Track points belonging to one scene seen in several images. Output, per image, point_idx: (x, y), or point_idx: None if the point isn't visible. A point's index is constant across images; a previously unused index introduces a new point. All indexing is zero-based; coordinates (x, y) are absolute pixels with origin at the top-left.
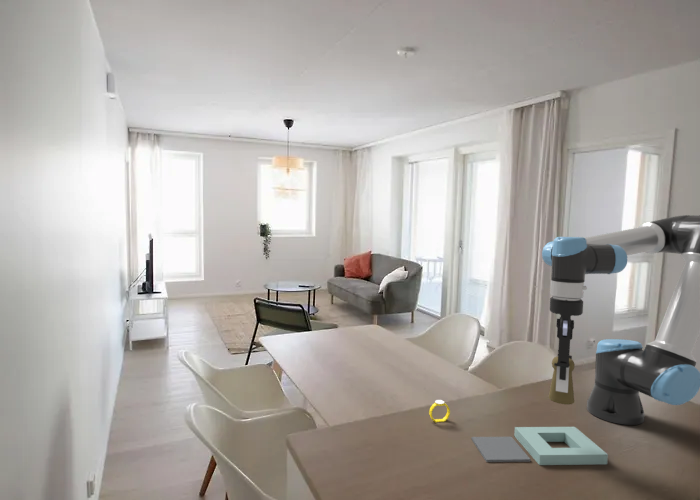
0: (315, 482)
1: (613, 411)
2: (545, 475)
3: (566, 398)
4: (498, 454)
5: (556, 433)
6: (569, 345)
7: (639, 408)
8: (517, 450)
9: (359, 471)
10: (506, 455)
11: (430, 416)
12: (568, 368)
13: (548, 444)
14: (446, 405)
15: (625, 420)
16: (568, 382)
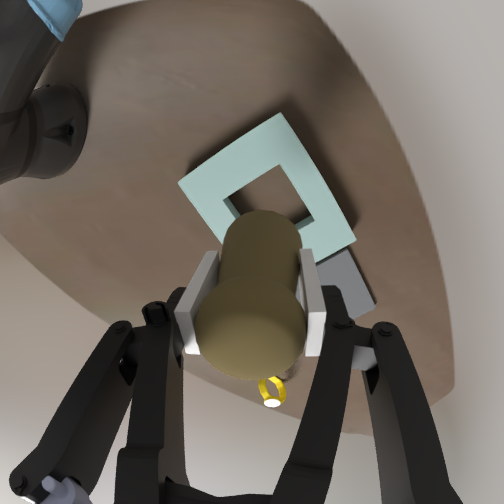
0: (440, 398)
1: (67, 126)
2: (380, 221)
3: (297, 240)
4: (353, 296)
5: (233, 215)
6: (436, 431)
7: (47, 87)
8: (325, 272)
9: (423, 389)
10: (351, 285)
11: (282, 391)
12: (325, 309)
13: (302, 227)
14: (268, 393)
15: (79, 103)
16: (289, 264)
